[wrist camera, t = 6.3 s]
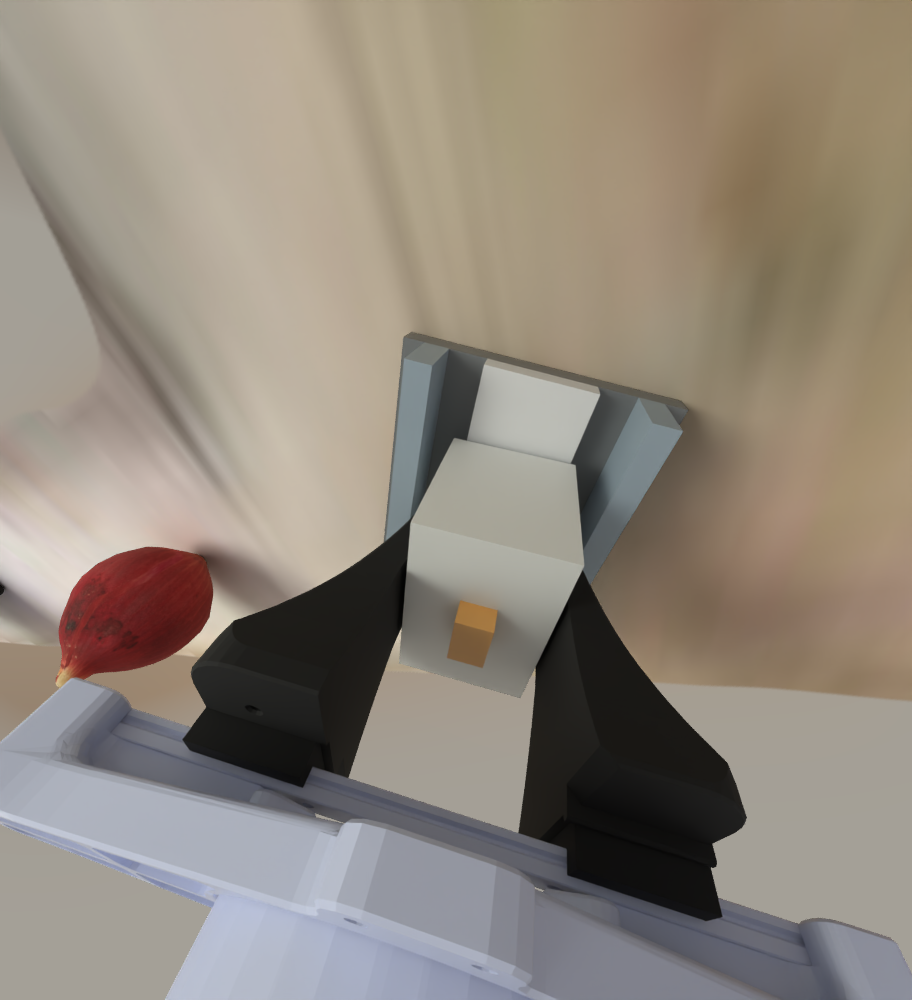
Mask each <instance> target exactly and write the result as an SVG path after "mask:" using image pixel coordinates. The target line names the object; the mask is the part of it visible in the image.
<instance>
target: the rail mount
mask: <svg viewBox="0 0 912 1000" xmlns="http://www.w3.org/2000/svg"><path fill="white" fill-rule="evenodd" d="M687 411H688V409H687V408H686V407H685V405H684V404H683V403H682V402H681V401H679V400H675V399H671V398H667V397H663V396H660V395H656V394H652V393H648V392H644V391H640V390H636V389H632V388H628V387H624V386H620V385H617V384H613V383H609V382H605V381H601V380H597V379H593V378H589V377H585V376H581V375H578V374H574V373H570V372H566V371H562V370H558V369H554V368H550V367H546V366H542V365H538V364H535V363H531V362H527V361H523V360H519V359H515V358H511V357H507V356H503V355H499V354H495V353H492V352H488V351H484V350H480V349H476V348H472V347H468V346H464V345H460V344H456V343H452V342H449V341H445V340H441V339H437V338H433V337H429V336H425V335H421V334H417V333H413V332H411V333H409V334H407V335H406V336H404V338H403V348H402V359H401V369H400V380H399V390H398V400H397V411H396V421H395V432H394V442H393V452H392V463H391V473H390V484H389V494H388V504H387V515H386V525H385V536H384V542H385V541H386V540H387V539H388V538H390V537H391V536H392V535H393V534H394V533H396V532H397V531H398V530H399V529H400V528H401V527H402V526H403V525H404V524H405V523H406V522H407V521H408V520H409V519H410V518H411V517H412V516H413V515H414V514H415V513H416V511H417V509H418V507H419V505H420V503H421V501H422V499H423V497H424V495H425V493H426V492H427V490H428V488H429V486H430V484H431V482H432V480H433V478H434V476H435V474H436V472H437V470H438V468H439V466H440V464H441V462H442V460H443V458H444V457H445V455H446V453H447V451H448V449H449V447H450V445H451V443H452V441H453V439H454V438H457V439H461V440H466V441H470V442H475V443H479V444H484V445H488V446H492V447H497V448H501V449H506V450H510V451H515V452H519V453H524V454H528V455H533V456H537V457H541V458H546V459H550V460H555V461H559V462H564V463H568V464H573V465H575V466H576V477H577V488H578V500H579V511H580V522H581V534H582V545H583V556H584V568H583V571H584V573H585V575H586V577H587V579H588V582H589V584H591V582H592V581H593V579H594V577H595V576H596V574H597V573H598V571H599V569H600V568H601V566H602V564H603V563H604V561H605V559H606V558H607V556H608V554H609V553H610V551H611V549H612V548H613V546H614V545H615V543H616V541H617V540H618V538H619V536H620V535H621V533H622V531H623V530H624V528H625V526H626V525H627V523H628V521H629V520H630V518H631V516H632V515H633V513H634V512H635V510H636V508H637V507H638V505H639V503H640V502H641V500H642V498H643V497H644V495H645V493H646V492H647V490H648V488H649V487H650V485H651V484H652V482H653V480H654V479H655V477H656V475H657V474H658V472H659V470H660V469H661V467H662V465H663V464H664V462H665V460H666V459H667V457H668V455H669V454H670V452H671V451H672V449H673V447H674V446H675V444H676V442H677V441H678V439H679V437H680V436H681V434H682V432H683V430H682V429H681V427H680V426H679V425H680V423H681V421H682V420H683V418H684V416H685V415H686V413H687Z"/></svg>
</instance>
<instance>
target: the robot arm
mask: <svg viewBox="0 0 912 1000" xmlns="http://www.w3.org/2000/svg"><path fill="white" fill-rule="evenodd" d="M414 515H415V514H414ZM414 515H413V516H412V517H411V518H410V519H409V520H408V521H407V522H406V523H405V524H404V525H403V526H402V527H401V528H400V529H399V530H398V531H397V532H396V533H394V534H393V535H392V536H391V537H390V538H388V539H387V540H386V541H385V542H384V543H383V544H381V545H380V546H379V547H378V548H376V549H375V550H374V551H372V552H371V553H370V554H368V555H367V556H366V557H364V558H363V559H362V560H360V561H359V562H357V563H356V564H354V565H353V566H351V567H350V568H348V569H347V570H345V571H343V572H342V573H340V574H339V575H337V576H335V577H333V578H332V579H330V580H328V581H326V582H324V583H323V584H321V585H319V586H317V587H315V588H313V589H311V590H309V591H307V592H305V593H303V594H301V595H299V596H296V597H294V598H292V599H290V600H288V601H285V602H283V603H281V604H279V605H276V606H274V607H271V608H269V609H266V610H263V611H260V612H258V613H255V614H252V615H249V616H246V617H244V618H241V619H238V620H235V621H233V622H232V623H231V624H230V626H228V627H227V628H226V629H225V630H224V631H223V632H222V633H221V634H220V635H219V636H218V638H217V639H216V640H215V641H214V642H213V643H212V644H211V646H210V647H209V648H208V649H207V650H206V651H205V653H204V654H203V655H202V656H201V657H200V659H199V660H198V661H197V662H196V663H195V665H194V666H193V667H192V671H191V676H192V680H193V683H194V685H195V687H196V688H197V690H198V692H199V694H200V696H201V698H202V699H203V701H204V703H205V705H206V709H205V710H204V711H203V713H202V714H201V715H200V716H199V718H198V719H197V720H196V722H195V723H194V724H193V726H192V727H189V726H185V725H182V724H179V723H176V722H173V721H170V720H167V719H164V718H161V717H158V716H155V715H152V714H149V713H146V712H142V711H139V710H136V709H133V708H131V704H130V703H129V701H128V700H127V699H126V697H124V696H123V695H122V694H120V693H119V692H117V691H116V690H113V689H111V688H108V687H105V686H102V685H99V684H96V683H92V682H89V681H86V680H83V679H80V678H77V677H75V678H71V679H70V680H68V681H67V682H66V683H65V684H64V685H63V686H62V687H61V688H60V689H58V691H56V692H55V693H54V694H53V695H52V696H51V697H50V698H49V699H47V700H46V701H45V702H44V703H43V704H42V705H41V706H40V707H39V708H37V709H36V710H35V711H34V712H33V713H32V714H31V715H30V716H29V717H28V718H26V719H25V720H24V721H23V722H22V723H21V724H20V725H19V726H18V727H17V728H15V729H14V730H13V731H12V732H11V733H10V734H9V735H8V736H6V738H4V739H3V740H2V741H1V742H0V824H1V825H3V826H5V827H8V828H9V829H11V830H13V831H16V832H18V833H21V834H24V835H26V836H29V837H32V838H34V839H37V840H40V841H42V842H45V843H48V844H50V845H53V846H56V847H58V848H61V849H63V850H66V851H69V852H71V853H74V854H76V855H79V856H82V857H84V858H87V859H90V860H92V861H94V862H97V863H100V864H102V865H105V866H107V867H110V868H112V869H115V870H117V871H120V872H122V873H125V874H128V875H130V876H133V877H135V878H137V879H140V880H143V881H145V882H148V883H150V884H153V885H155V886H158V887H160V888H163V889H165V890H168V891H170V892H173V893H175V894H178V895H180V896H183V897H186V898H188V899H191V900H193V901H195V902H198V903H201V904H203V905H206V906H208V907H211V908H212V909H211V911H210V913H209V915H208V917H207V919H206V921H205V923H204V924H203V926H202V928H201V931H200V932H199V934H198V936H197V938H196V940H195V942H194V944H193V946H192V948H191V950H190V952H189V954H188V956H187V957H186V959H185V962H184V963H183V965H182V967H181V969H180V971H179V973H178V975H177V977H176V979H175V981H174V983H173V985H172V987H171V989H170V991H169V992H168V994H167V997H166V998H165V1000H912V974H911V971H910V969H909V967H908V965H907V963H906V961H905V959H904V957H903V955H902V953H901V951H900V949H899V947H898V945H897V943H896V942H894V940H892V939H891V938H889V937H886V936H883V935H880V934H877V933H874V932H871V931H868V930H865V929H862V928H858V927H855V926H852V925H849V924H846V923H842V922H839V921H835V920H831V919H823V918H812V919H807V920H804V921H801V922H800V924H798V923H794V922H791V921H788V920H785V919H782V918H779V917H776V916H773V915H770V914H767V913H763V912H760V911H757V910H754V909H751V908H748V907H745V906H741V905H739V904H736V903H733V902H729V901H726V900H723V899H720V898H718V896H717V892H716V888H715V884H714V879H713V875H712V871H711V867H712V868H714V867H716V865H717V860H716V857H715V853H714V849H713V845H712V844H713V843H715V842H717V841H719V840H721V839H723V838H725V837H727V836H729V835H731V834H733V833H735V832H737V831H738V830H739V829H740V828H742V827H743V825H744V824H745V821H746V818H747V817H746V814H745V811H744V808H743V805H742V802H741V798H740V795H739V792H738V789H737V785H736V783H735V781H734V778H733V775H732V773H731V771H730V768H729V766H728V763H727V762H726V761H725V760H724V759H723V758H722V757H721V756H720V755H719V754H718V753H717V752H716V751H715V750H714V749H713V748H712V747H711V746H710V745H709V744H708V743H707V742H706V741H705V740H704V739H703V738H702V737H701V736H700V735H699V734H698V733H697V732H696V731H695V730H694V729H693V728H692V727H691V726H690V725H689V724H688V723H687V722H686V721H685V720H684V719H683V717H682V716H681V715H680V714H679V713H678V712H677V711H676V710H675V709H674V708H673V707H672V705H671V704H670V703H669V702H668V701H667V700H666V698H665V697H664V696H663V695H662V694H661V693H660V691H659V690H658V689H657V688H656V687H655V685H654V684H653V683H652V682H651V680H650V679H649V678H648V677H647V675H646V674H645V673H644V672H643V670H642V669H641V668H640V666H639V665H638V664H637V662H636V661H635V660H634V658H633V657H632V656H631V654H630V653H629V651H628V650H627V648H626V647H625V645H624V644H623V643H622V641H621V639H620V638H619V636H618V635H617V633H616V632H615V630H614V628H613V627H612V625H611V623H610V621H609V620H608V618H607V616H606V615H605V613H604V611H603V609H602V607H601V605H600V604H599V602H598V600H597V598H596V596H595V594H594V592H593V590H592V588H591V586H590V584H589V582H588V579H587V577H586V575H585V573H584V571H583V570H582V572H581V574H580V576H579V578H578V580H577V582H576V584H575V586H574V588H573V590H572V592H571V594H570V596H569V599H568V601H567V603H566V605H565V607H564V609H563V611H562V613H561V615H560V617H559V619H558V621H557V623H556V625H555V628H554V630H553V632H552V634H551V636H550V638H549V640H548V642H547V644H546V646H545V648H544V650H543V652H542V654H541V656H540V659H539V661H538V663H537V665H536V680H535V697H534V707H533V718H532V728H531V737H530V747H529V756H528V764H527V772H526V781H525V789H524V796H523V804H522V811H521V819H520V827H519V833H516V832H513V831H510V830H507V829H504V828H501V827H498V826H494V825H491V824H488V823H485V822H482V821H479V820H476V819H473V818H470V817H467V816H464V815H461V814H457V813H454V812H451V811H448V810H445V809H442V808H439V807H436V806H433V805H430V804H427V803H424V802H421V801H417V800H414V799H411V798H408V797H405V796H402V795H399V794H396V793H393V792H390V791H387V790H383V789H380V788H377V787H374V786H371V785H368V784H365V783H361V782H358V781H356V780H353V779H349V778H348V777H349V774H350V771H351V768H352V765H353V762H354V759H355V756H356V753H357V749H358V746H359V743H360V740H361V737H362V734H363V731H364V728H365V725H366V722H367V719H368V716H369V713H370V710H371V707H372V704H373V701H374V698H375V696H376V693H377V690H378V687H379V684H380V681H381V679H382V676H383V673H384V670H385V667H386V664H387V662H388V659H389V656H390V653H391V651H392V648H393V646H394V643H395V641H396V638H397V636H398V634H399V632H400V630H401V628H402V621H403V609H404V597H405V585H406V573H407V561H408V549H409V536H410V524H411V521H412V519H413V517H414ZM315 813H316V814H319V815H322V816H325V817H328V818H331V819H334V820H337V821H340V822H343V823H345V824H343V823H339V822H334V821H330V820H325V819H321V818H316V816H315ZM535 887H536V888H539V889H542V890H544V891H543V892H541V891H538V890H536V889H535Z"/></svg>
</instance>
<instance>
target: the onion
mask: <svg viewBox="0 0 912 1000" xmlns="http://www.w3.org/2000/svg"><path fill="white" fill-rule="evenodd" d="M212 599H213V585H212V581H211V577H210V574H209V570H208V568H207V562H206V561H205V559H204V558H203V557H202V556H200V555H198V554H193V553H189V552H184V551H179V550H174V549H169V548H163V547H144V548H140V549H135V550H131V551H127V552H123V553H120V554H116V555H114V556H112V557H110V558H108V559H106V560H104V561H102V562H100V563H98V564H97V565H95V566H94V567H93V568H92V569H91V570H89V571H88V572H87V573H86V574H85V575H83V576H82V577H81V579H80V580H79V581H78V583H77V584H76V586H75V587H74V588H73V590H72V592H71V594H70V597H69V600H68V602H67V605H66V607H65V609H64V612H63V615H62V618H61V621H60V626H59V640H60V644H61V648H62V660H61V667H60V671H59V673H58V675H57V677H56V685H57V686H58V687H59V688H61V687H62V686H63V685H64V684H65V683H66V682H67V681H68V680H70V679H71V678H75V677H77V678H80V679H83V680H84V679H86V678H87V677H89V676H91V675H93V674H96V673H104V672H118V671H127V670H132V669H136V668H141V667H144V666H147V665H151V664H154V663H156V662H159V661H161V660H163V659H166V658H167V657H169V656H171V655H172V654H174V653H176V652H177V651H179V650H180V649H182V648H183V647H184V646H185V645H187V644H188V643H189V642H190V641H191V640H192V639H193V638H194V637H195V636H196V635H197V634H199V633H200V632H201V630H202V629H203V627H204V625H205V624H206V622H207V620H208V619H209V617H210V611H211V605H212Z"/></svg>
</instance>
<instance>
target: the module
mask: <svg viewBox="0 0 912 1000" xmlns="http://www.w3.org/2000/svg"><path fill="white" fill-rule="evenodd" d="M583 568H584V556H583V545H582V534H581V522H580V511H579V500H578V488H577V477H576V466H575V465H573V464H568V463H564V462H559V461H555V460H550V459H546V458H541V457H537V456H533V455H528V454H524V453H519V452H515V451H510V450H506V449H501V448H497V447H492V446H488V445H484V444H479V443H475V442H470V441H466V440H461V439H457V438H454V439H453V441H452V443H451V445H450V447H449V449H448V451H447V453H446V455H445V457H444V458H443V460H442V462H441V464H440V466H439V468H438V470H437V472H436V474H435V476H434V478H433V480H432V482H431V484H430V486H429V488H428V490H427V492H426V493H425V495H424V497H423V499H422V501H421V503H420V505H419V507H418V509H417V511H416V513H415V515H414V517H413V519H412V521H411V524H410V536H409V549H408V561H407V573H406V585H405V597H404V609H403V621H402V633H401V646H400V658H399V663H400V664H403V665H407V666H410V667H414V668H417V669H421V670H424V671H428V672H431V673H434V674H438V675H441V676H445V677H448V678H452V679H455V680H459V681H463V682H466V683H470V684H473V685H476V686H480V687H483V688H487V689H490V690H494V691H497V692H500V693H504V694H507V695H511V696H514V697H518V698H521V696H522V693H523V692H524V690H525V687H526V685H527V683H528V681H529V679H530V677H531V675H532V673H533V671H534V669H535V667H536V665H537V663H538V661H539V659H540V656H541V654H542V652H543V650H544V648H545V646H546V644H547V642H548V640H549V638H550V636H551V634H552V632H553V630H554V628H555V625H556V623H557V621H558V619H559V617H560V615H561V613H562V611H563V609H564V607H565V605H566V603H567V601H568V599H569V596H570V594H571V592H572V590H573V588H574V586H575V584H576V582H577V580H578V578H579V576H580V574H581V572H582V570H583Z"/></svg>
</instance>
